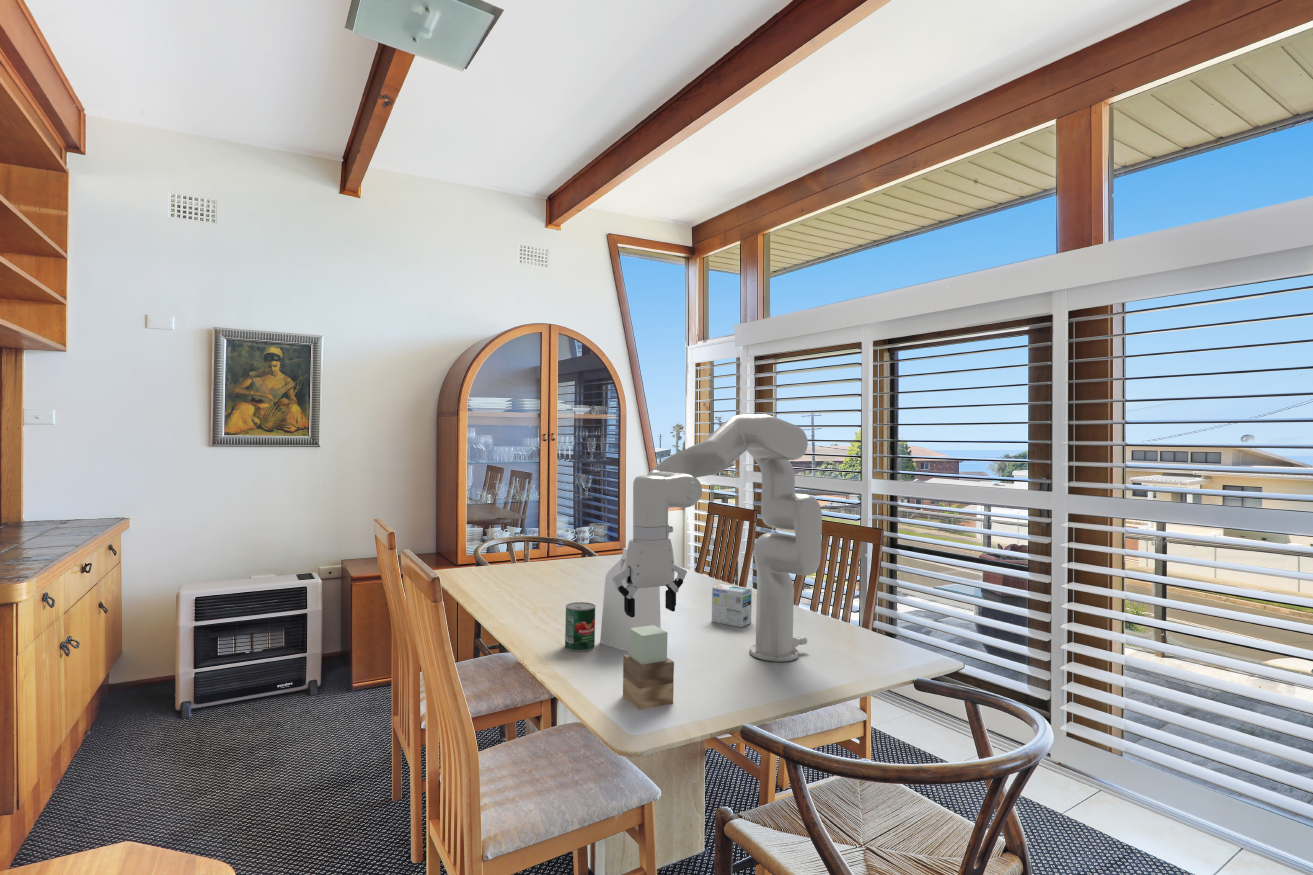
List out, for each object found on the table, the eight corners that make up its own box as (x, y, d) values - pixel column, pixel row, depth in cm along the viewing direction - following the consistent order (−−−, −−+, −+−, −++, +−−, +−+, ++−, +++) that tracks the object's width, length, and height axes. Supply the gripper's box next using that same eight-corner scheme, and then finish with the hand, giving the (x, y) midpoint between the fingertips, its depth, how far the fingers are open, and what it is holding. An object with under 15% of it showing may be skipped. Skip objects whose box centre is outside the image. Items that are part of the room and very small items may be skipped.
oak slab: (655, 691, 149) (655, 670, 149) (673, 704, 142) (673, 682, 142) (622, 696, 145) (623, 676, 145) (639, 710, 138) (639, 688, 138)
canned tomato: (573, 640, 183) (574, 600, 183) (599, 644, 181) (600, 603, 181) (559, 649, 176) (560, 607, 176) (586, 653, 173) (587, 610, 173)
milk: (629, 633, 191) (631, 542, 191) (660, 642, 184) (663, 547, 184) (599, 643, 182) (602, 547, 182) (631, 652, 175) (634, 552, 175)
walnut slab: (655, 670, 149) (656, 650, 149) (673, 682, 142) (674, 661, 142) (623, 676, 145) (623, 655, 145) (639, 688, 138) (640, 666, 138)
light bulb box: (752, 622, 206) (752, 587, 206) (742, 627, 200) (743, 591, 200) (720, 617, 211) (721, 582, 211) (710, 621, 206) (711, 586, 206)
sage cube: (653, 652, 148) (654, 625, 148) (666, 660, 143) (667, 632, 143) (628, 655, 145) (629, 628, 145) (641, 664, 140) (642, 635, 140)
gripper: (677, 527, 151) (677, 603, 152) (606, 533, 143) (606, 613, 143) (694, 532, 144) (694, 611, 145) (621, 539, 136) (621, 622, 137)
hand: (650, 612), depth 144 cm, fingers open, 9 cm apart
